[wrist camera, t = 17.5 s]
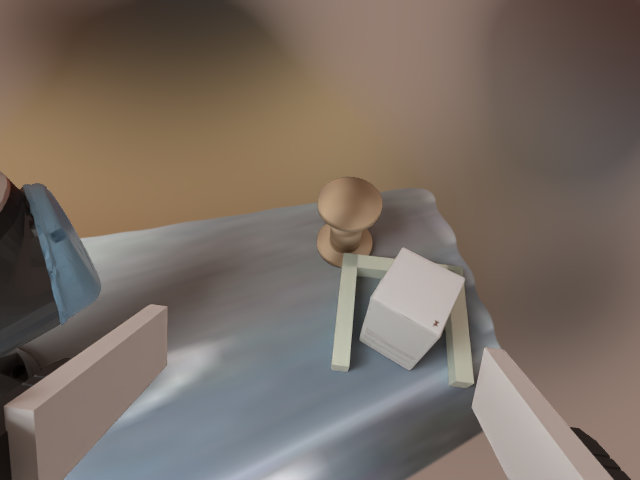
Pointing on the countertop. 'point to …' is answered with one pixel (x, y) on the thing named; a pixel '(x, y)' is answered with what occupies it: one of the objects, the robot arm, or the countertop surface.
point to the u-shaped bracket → (377, 268)
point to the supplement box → (410, 308)
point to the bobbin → (347, 218)
